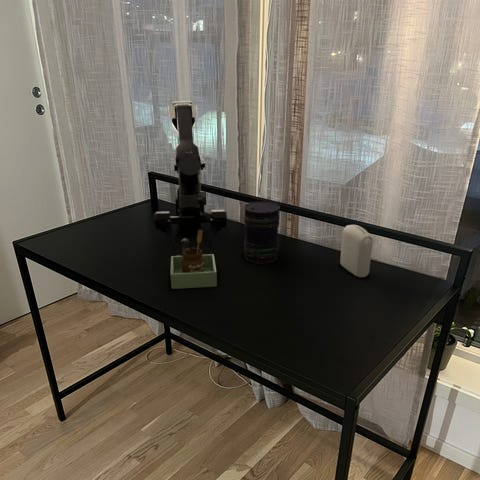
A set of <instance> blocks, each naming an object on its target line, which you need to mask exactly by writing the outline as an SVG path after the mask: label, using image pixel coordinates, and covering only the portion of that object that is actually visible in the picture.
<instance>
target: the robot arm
mask: <svg viewBox="0 0 480 480" xmlns="http://www.w3.org/2000/svg"><path fill="white" fill-rule="evenodd" d="M167 108H168V119H171V125H172V127H173V129H174V130H175V131H176V133H177V146H176V147H175V156H173V170H174V172H176V173H177V174H178V188H177V191H176V196H175V197H174V201H175V215H171V212H170V211H168V210H167V211H155V212H154V213H153V222H154V226H155V229H156V230H158V231H160V232H161V233H163V234H165V235H166V237H167V238H168V240H169V244H170V246H171V248H172V249H171V250H172V251H173V252H176V244H175V239H174V238H175V237H174V232H173V227H172V225H176V224H177V229H178V231H179V233H180V234H182V236H184V237H186V236H192V235H193V236H194V235H198V230H201V232H202V231H203V230H202V225H201V224H207V223H208V224H209V223H210V225H209V236H208V251H211V250H212V247H213V244H214V241H215V238H216V236H217V234H218V232H220V231H221V232H222V230H223V229H225V228H227V225H228V214H227V211H226V210H225V209H211V211H210V212H211V214H205V206H207V205H208V203H207V191H202V186H201V179H202V171H203V170H204V169H205V168H206V162H205V159H204V158H203V156H202V155H200V150H199V146H198V145H197V144H196V143H195V142H194V133H193V132H194V131H193V128H194V126H195V124H196V118H198V105H197V104H193V101H192V100H188V101H187V100H185V101H181V100H180V101H172V102H171V104H170V105H169V104H168V107H167ZM203 233H204V231H203V232H202V234H203ZM199 234H200V231H199Z"/></svg>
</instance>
